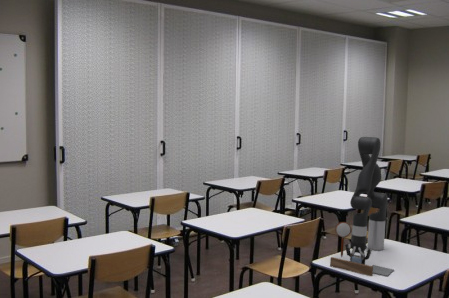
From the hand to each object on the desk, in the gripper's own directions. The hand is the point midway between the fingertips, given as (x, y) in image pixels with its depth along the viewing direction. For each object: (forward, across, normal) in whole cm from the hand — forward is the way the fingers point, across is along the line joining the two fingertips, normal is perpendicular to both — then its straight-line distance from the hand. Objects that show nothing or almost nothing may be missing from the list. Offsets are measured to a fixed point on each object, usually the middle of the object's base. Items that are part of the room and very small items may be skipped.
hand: (357, 265), depth 258 cm
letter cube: (0, 0, 0) cm, 0 cm away
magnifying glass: (+1, +12, -8) cm, 14 cm away
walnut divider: (0, 0, +9) cm, 9 cm away
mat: (0, -12, 0) cm, 12 cm away
